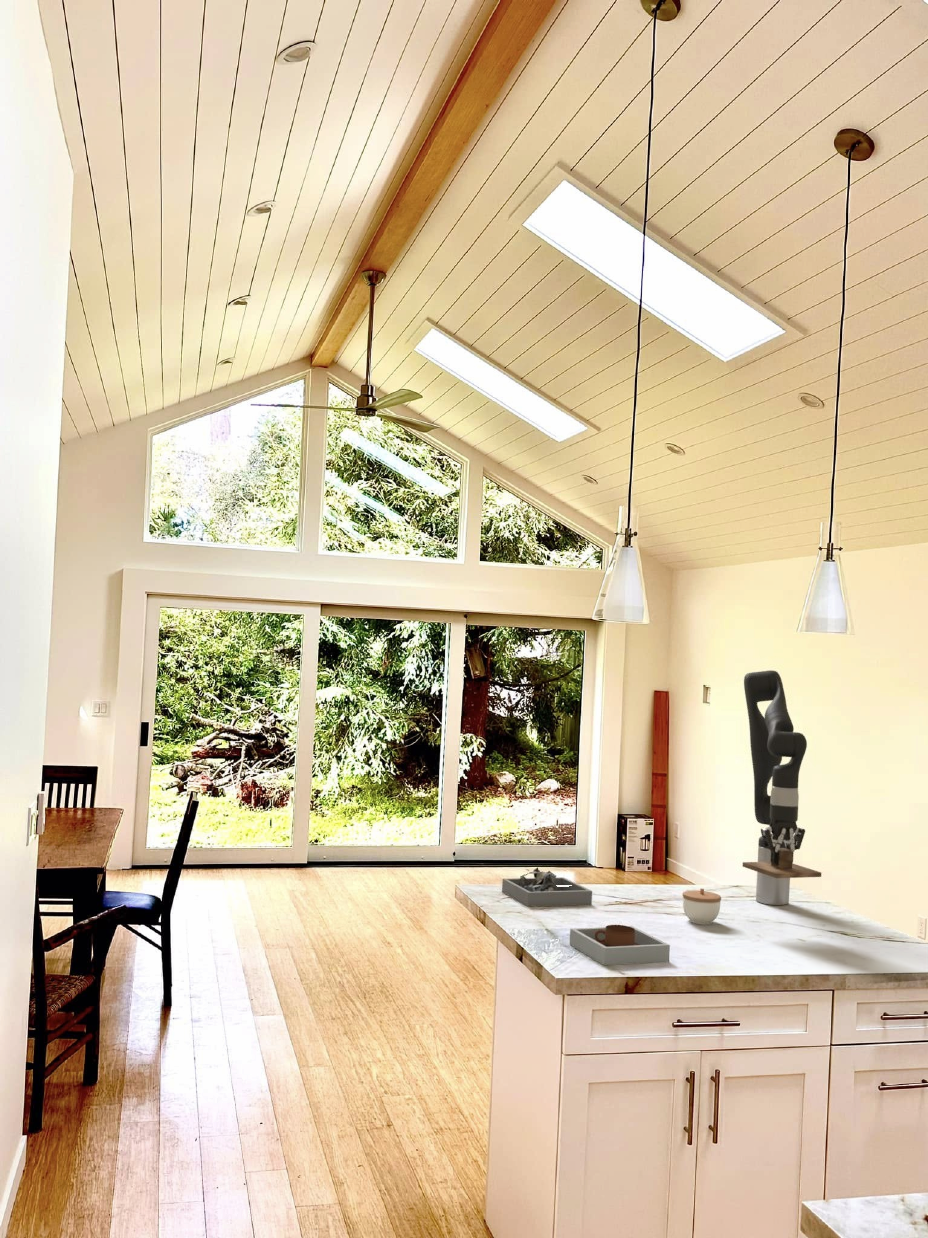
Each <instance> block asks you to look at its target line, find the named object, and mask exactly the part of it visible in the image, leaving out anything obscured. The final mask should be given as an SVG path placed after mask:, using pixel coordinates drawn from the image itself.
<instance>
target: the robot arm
mask: <svg viewBox="0 0 928 1238" xmlns="http://www.w3.org/2000/svg"><path fill="white" fill-rule="evenodd" d="M743 688H744V695H745V701H746V702H745V704H746V709H747V715H748V716H747V717H748V725H749V726H748V727H749V739H750V740H749V741H750V742H749V743H750V754H751V762H752V769H753V770H752V772H753V782H754V784H753V786H754V787H753V789H754V790H753V791H754V794H753V795H754V796H753V797H754V798H753V799H754V801H753V802H754V804H753V805H754V815H755V816H754V817H755V819H756V821H757V822H758V824H761V825H765V826H766V825H767V827H765V828H764V827H762V828H760V833H761V834H760V835H761V836H760V837H759V838H758V842H757V843H758V844H757V845H758V847H757V848H758V850H757V862H771V863H772V865H775V866H778V862H779V852H778V851H779V848H786V849H789V850H792V851H793V855H794V852H795V851H796V850H800V849H801V846H802V843H803V840H804V837H805V833H806V829H805V828H801V827H799V826H798V825H797V822H798V821H799V819H798V818H799V799H800V797H799V794H800V793H799V775H800V769H801V767H802V766H801V765H802V763H803V760H804V757H805V755H806V751H807V747H808V742H807V739H806V736H805V735H804V734H803V733H801V732H798V731H797V732H796V731H794V725H793V722H792V719H791V717H790V714H789V712H788V706H787V700H786V695H785V694H786V693H785V690H784V685H783V681H782V678H781V676H780V673H779V672H778V671H777V670H772V669H771V670H764V671H763V670H762V671H754V672H748V673H745V674H744V678H743ZM768 701H769V702H770V704H769V705H768V706H767V708H766V710H765V713H764V716H763V713H762V712H761V710H760V708H759V706H758V703H760V702H768ZM783 758H790V760H789V761H788V762H787V763H783V764H781V763H782V760H783ZM770 782H771V791H770V795H769V794H768V786H769V783H770ZM792 863H793V864H794V859H793V860H792ZM790 884H791V878H774V877H771V876H768V875H766V874H763V873H760V872H757V871H756V888H755V889H756V892H755V901H756V902H758V903H761V904H765V905H771V906H785V905H787V904H790V890H791V889H790V888H791V887H790Z"/></svg>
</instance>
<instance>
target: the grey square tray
mask: <svg viewBox="0 0 928 1238" xmlns="http://www.w3.org/2000/svg"><path fill="white" fill-rule="evenodd" d="M628 926H629V927H632V928H634V929H635V940H634V942H635V943H638V944H640V945H636V946H615V947H606V946H604V945H602V944H600V943H599V942H597V940H596V939H595V933H596V932H597V931H598V930H604V931H605V927H606V926H604V927H603V926H601V927H600V926H599V927H598V926H597V927H579V928H577V927H575V928H570V931H569V945H570V946H571V947H572V948H574V949H576V950H578V951H580V952H581V953H583V954H585V955H586V956H588V957H590V958H591V959H592V960H594V961H597V962H598V963H599V964H601V965H603V966H612V965H613V966H615V965H632V964H648V963H649V964H651V963H664V962H665V963H666V962H667V963H668V962H670V950H671V948H670V947H671V944H670V943H667V942H665V941H663V940H661V939H659V938H657V937H654V935H651V934H649V933H647V932H645V931H643V930H641V929H639V928H637V927H635V926H633V925H628ZM597 937H598V939H600V940H603V939H605V934H603V933H598V935H597Z"/></svg>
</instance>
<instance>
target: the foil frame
mask: <svg viewBox="0 0 928 1238" xmlns="http://www.w3.org/2000/svg"><path fill="white" fill-rule="evenodd" d="M525 878H526V879H527V880H529V881H530V882H531V883H533V882H534V880H535V878H534V877H525ZM520 880H521V879H520V878H502V884H501V887H502V888H501V892H502V893H503V894H505V895H506V896H509V897H510V898H513V899H514V901H515V900H516V901H517V902H519V903H521V904H522V905H525V906H526V907H552V906H553V907H554V906H555V907H556V906H557V907H558V906H581V905H583V906H585V905H586V906H587V905H589V906H590V905H592V904H593V890H591V889H589V888H587V887H585V886H582V885H581V884H578V883H576V882H574V881H572V880H571V879H568V878H566V877H564V876H562V877H556V878H555V882H554V884H553V883H547V886H549V885H572V886H569V887H557V886H556V887H555V891H542V892H530V891H528V890H526V889H524V888H522V887H520V886H518V885H519V881H520ZM538 888H539V887H538ZM538 888H537V889H538Z"/></svg>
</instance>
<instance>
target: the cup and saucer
mask: <svg viewBox="0 0 928 1238" xmlns="http://www.w3.org/2000/svg"><path fill="white" fill-rule="evenodd" d="M629 926H630V925H624V924H609V925H606V926H604V927H605V931H604V930H598V931H597V932H596V933H595V939H596V940H597V942H599V943H600V944H602V945H604V946H606V947H615V946H636V945H640V944H638V943H635V942H634V940H635V929H634V928H632V927H629ZM598 933H603V934H605V939H603V940H600V939H598V937H597V935H598Z"/></svg>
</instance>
